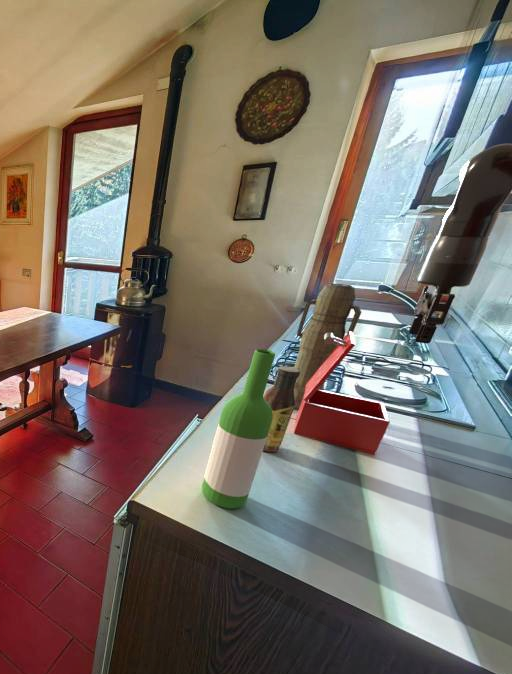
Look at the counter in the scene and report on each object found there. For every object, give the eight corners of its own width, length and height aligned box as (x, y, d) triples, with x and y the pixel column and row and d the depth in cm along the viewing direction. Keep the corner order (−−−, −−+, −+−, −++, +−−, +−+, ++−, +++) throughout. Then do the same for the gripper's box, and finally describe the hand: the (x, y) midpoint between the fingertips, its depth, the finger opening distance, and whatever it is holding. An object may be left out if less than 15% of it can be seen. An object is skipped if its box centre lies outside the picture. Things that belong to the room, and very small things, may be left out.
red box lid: (352, 333, 96) (330, 324, 98) (355, 344, 87) (330, 334, 89) (308, 386, 105) (289, 377, 107) (307, 401, 96) (285, 391, 98)
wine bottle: (231, 485, 79) (273, 344, 68) (254, 511, 72) (305, 359, 61) (193, 484, 79) (229, 344, 68) (212, 511, 72) (256, 359, 60)
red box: (370, 433, 100) (383, 403, 96) (374, 455, 91) (390, 421, 87) (296, 415, 109) (306, 387, 105) (293, 433, 99) (304, 402, 96)
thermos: (321, 416, 108) (369, 289, 95) (272, 403, 116) (310, 283, 102) (326, 407, 114) (372, 285, 101) (279, 394, 122) (316, 280, 108)
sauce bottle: (272, 456, 89) (299, 376, 82) (243, 444, 94) (267, 368, 86) (283, 447, 93) (311, 370, 85) (255, 436, 98) (279, 362, 90)
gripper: (490, 264, 71) (450, 349, 77) (469, 259, 81) (436, 334, 87) (432, 261, 75) (399, 342, 81) (419, 257, 86) (391, 329, 92)
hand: (418, 338), depth 84 cm, fingers open, 8 cm apart
